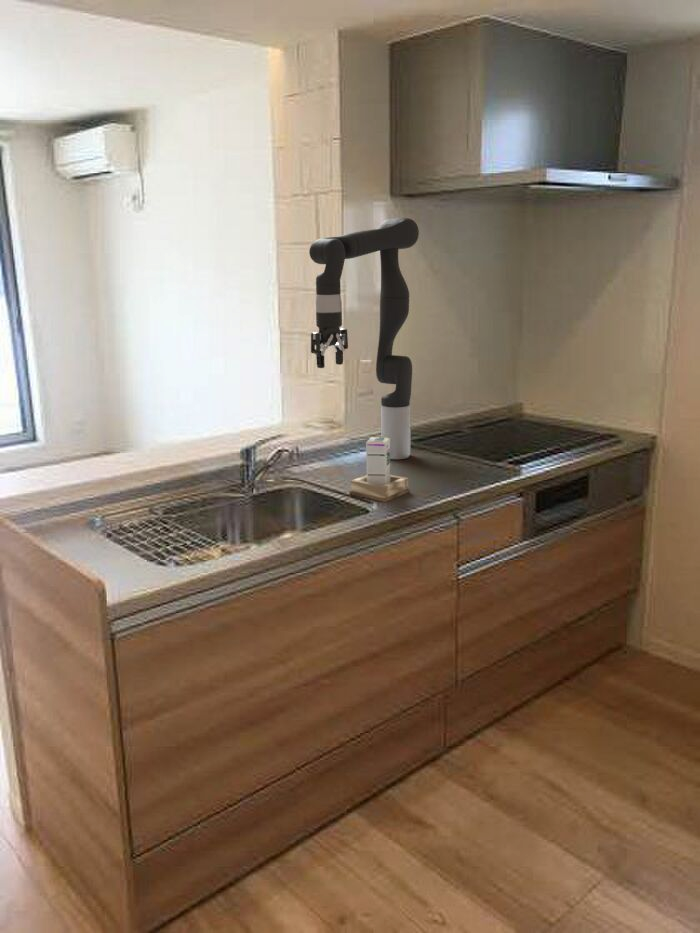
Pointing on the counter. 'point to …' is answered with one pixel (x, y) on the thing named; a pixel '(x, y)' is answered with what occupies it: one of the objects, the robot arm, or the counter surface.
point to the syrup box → (378, 460)
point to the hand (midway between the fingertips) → (330, 366)
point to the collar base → (379, 488)
